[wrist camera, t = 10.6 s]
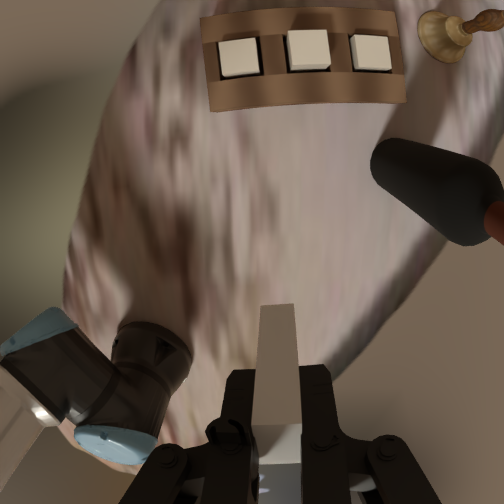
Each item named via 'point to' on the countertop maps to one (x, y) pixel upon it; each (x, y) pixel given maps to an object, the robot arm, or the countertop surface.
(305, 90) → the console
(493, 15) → the hand bell
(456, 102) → the countertop surface
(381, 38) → the outer button
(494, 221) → the wine bottle
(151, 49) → the countertop surface
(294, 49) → the middle button
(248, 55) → the inner button
